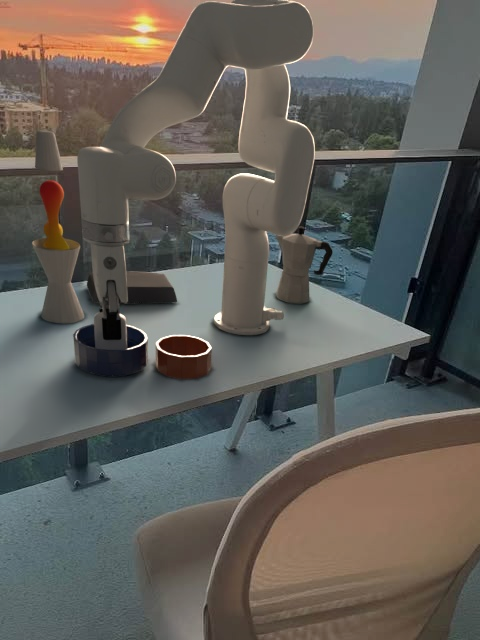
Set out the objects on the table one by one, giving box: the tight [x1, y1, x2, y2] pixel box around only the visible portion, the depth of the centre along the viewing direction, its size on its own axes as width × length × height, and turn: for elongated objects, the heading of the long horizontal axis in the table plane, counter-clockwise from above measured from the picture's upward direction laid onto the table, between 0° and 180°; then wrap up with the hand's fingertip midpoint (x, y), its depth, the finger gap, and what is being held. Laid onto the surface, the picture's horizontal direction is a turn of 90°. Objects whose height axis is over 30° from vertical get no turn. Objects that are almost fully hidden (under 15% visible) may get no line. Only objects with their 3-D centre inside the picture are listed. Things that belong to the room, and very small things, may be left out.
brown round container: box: [154, 334, 213, 380], centre depth 119 cm, size 10×10×4 cm
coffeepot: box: [274, 225, 333, 305], centre depth 158 cm, size 15×9×18 cm, turn 72°
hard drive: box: [86, 270, 178, 304], centre depth 147 cm, size 13×19×4 cm
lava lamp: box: [31, 129, 86, 324], centre depth 123 cm, size 9×9×35 cm
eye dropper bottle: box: [93, 298, 128, 350], centre depth 113 cm, size 4×6×12 cm
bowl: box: [72, 323, 149, 378], centre depth 116 cm, size 13×13×6 cm
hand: (110, 333), depth 114 cm, fingers closed on eye dropper bottle, 3 cm apart
